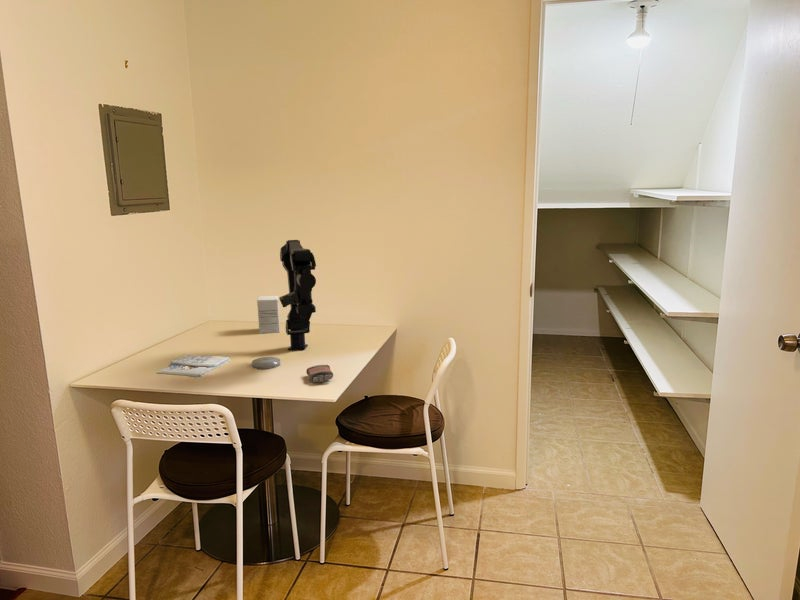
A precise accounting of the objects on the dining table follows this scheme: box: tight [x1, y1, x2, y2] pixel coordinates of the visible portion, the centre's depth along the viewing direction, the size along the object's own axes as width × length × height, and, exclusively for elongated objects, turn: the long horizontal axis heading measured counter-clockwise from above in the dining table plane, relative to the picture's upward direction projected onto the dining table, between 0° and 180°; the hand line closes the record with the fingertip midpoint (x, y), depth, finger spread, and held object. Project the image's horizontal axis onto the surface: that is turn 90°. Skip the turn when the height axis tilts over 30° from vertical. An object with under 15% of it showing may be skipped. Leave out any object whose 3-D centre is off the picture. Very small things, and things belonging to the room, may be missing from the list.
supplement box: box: [256, 295, 281, 334], centre depth 264 cm, size 9×9×15 cm
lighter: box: [305, 364, 334, 383], centre depth 200 cm, size 8×3×10 cm
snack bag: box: [156, 354, 232, 378], centre depth 216 cm, size 19×20×2 cm
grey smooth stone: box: [251, 356, 281, 370], centre depth 216 cm, size 10×10×2 cm
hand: (305, 327), depth 216 cm, fingers closed
